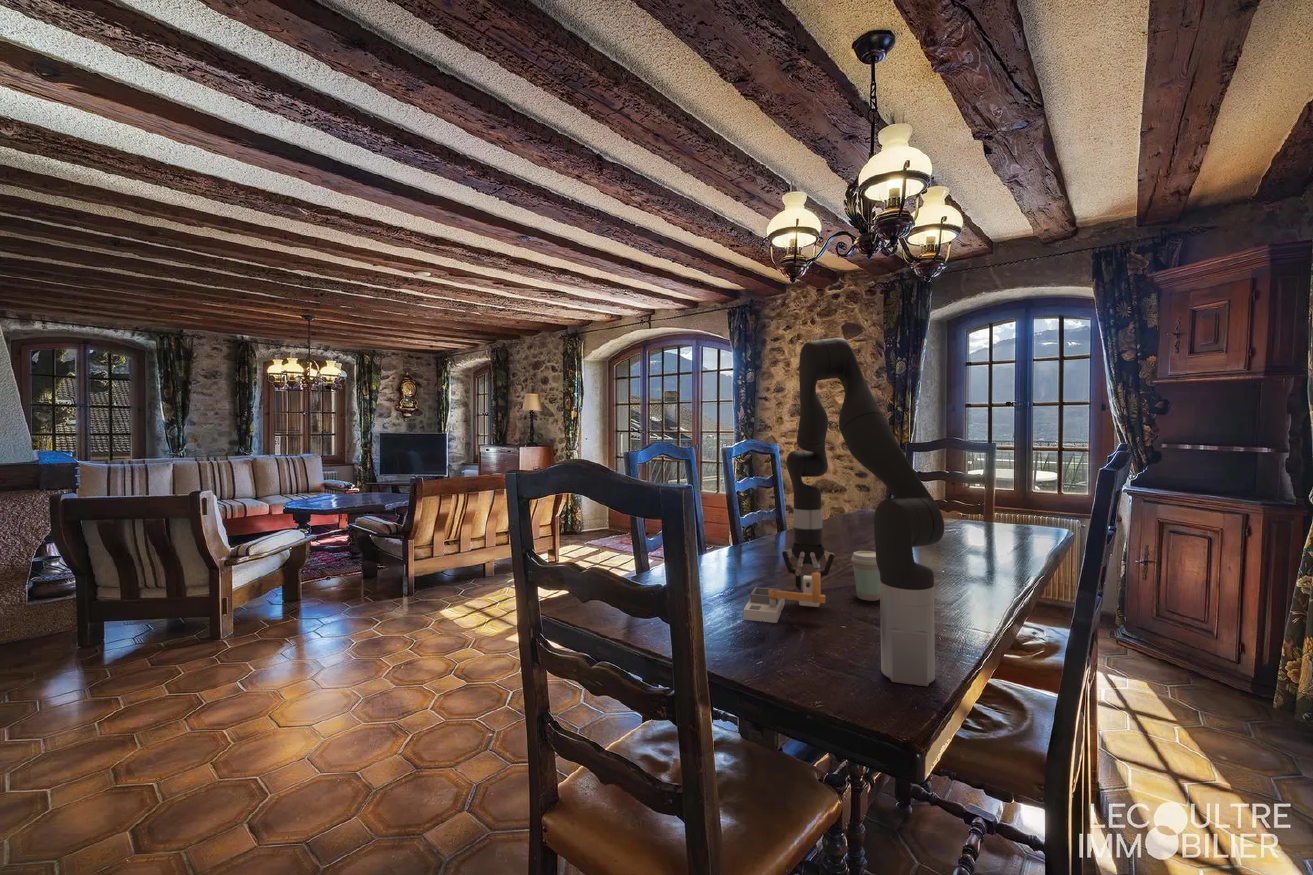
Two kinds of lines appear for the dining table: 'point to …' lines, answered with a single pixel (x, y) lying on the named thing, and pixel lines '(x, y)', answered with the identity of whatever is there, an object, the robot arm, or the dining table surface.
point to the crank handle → (813, 597)
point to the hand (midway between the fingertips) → (808, 589)
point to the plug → (808, 591)
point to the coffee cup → (866, 575)
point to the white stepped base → (763, 606)
